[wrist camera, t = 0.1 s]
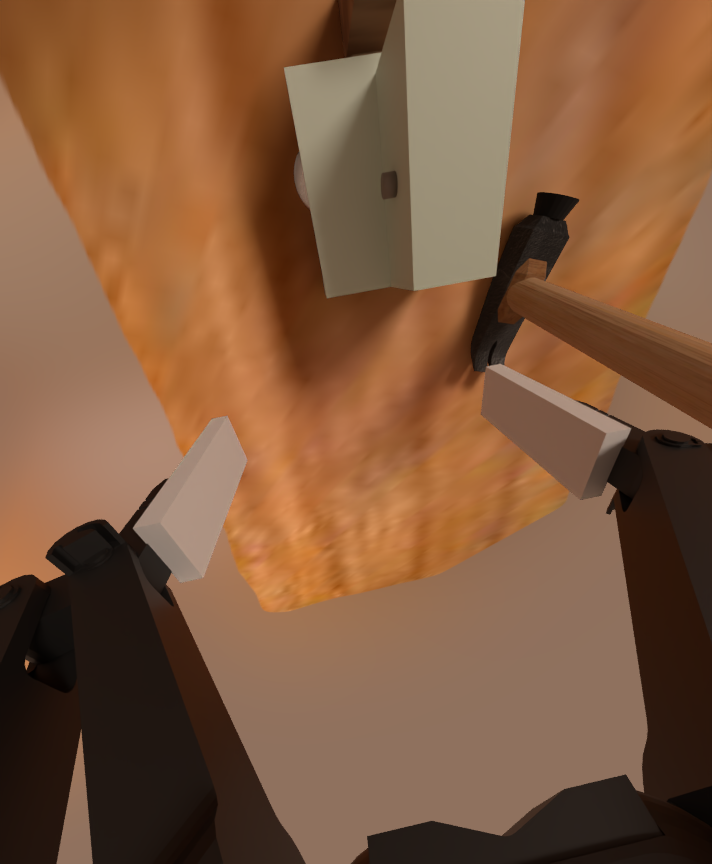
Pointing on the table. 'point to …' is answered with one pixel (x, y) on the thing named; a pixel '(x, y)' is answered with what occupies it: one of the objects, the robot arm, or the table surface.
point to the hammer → (586, 319)
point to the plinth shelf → (411, 147)
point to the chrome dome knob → (300, 181)
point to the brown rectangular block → (364, 25)
